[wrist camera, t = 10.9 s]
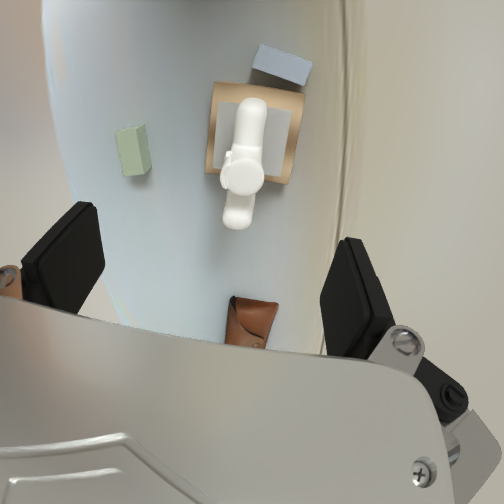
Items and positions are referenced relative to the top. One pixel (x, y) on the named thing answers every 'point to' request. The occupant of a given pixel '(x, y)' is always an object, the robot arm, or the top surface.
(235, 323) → the sunglasses case
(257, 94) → the oak pedestal
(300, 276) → the top surface
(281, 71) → the brick slate
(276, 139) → the figurine
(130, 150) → the brick sage
